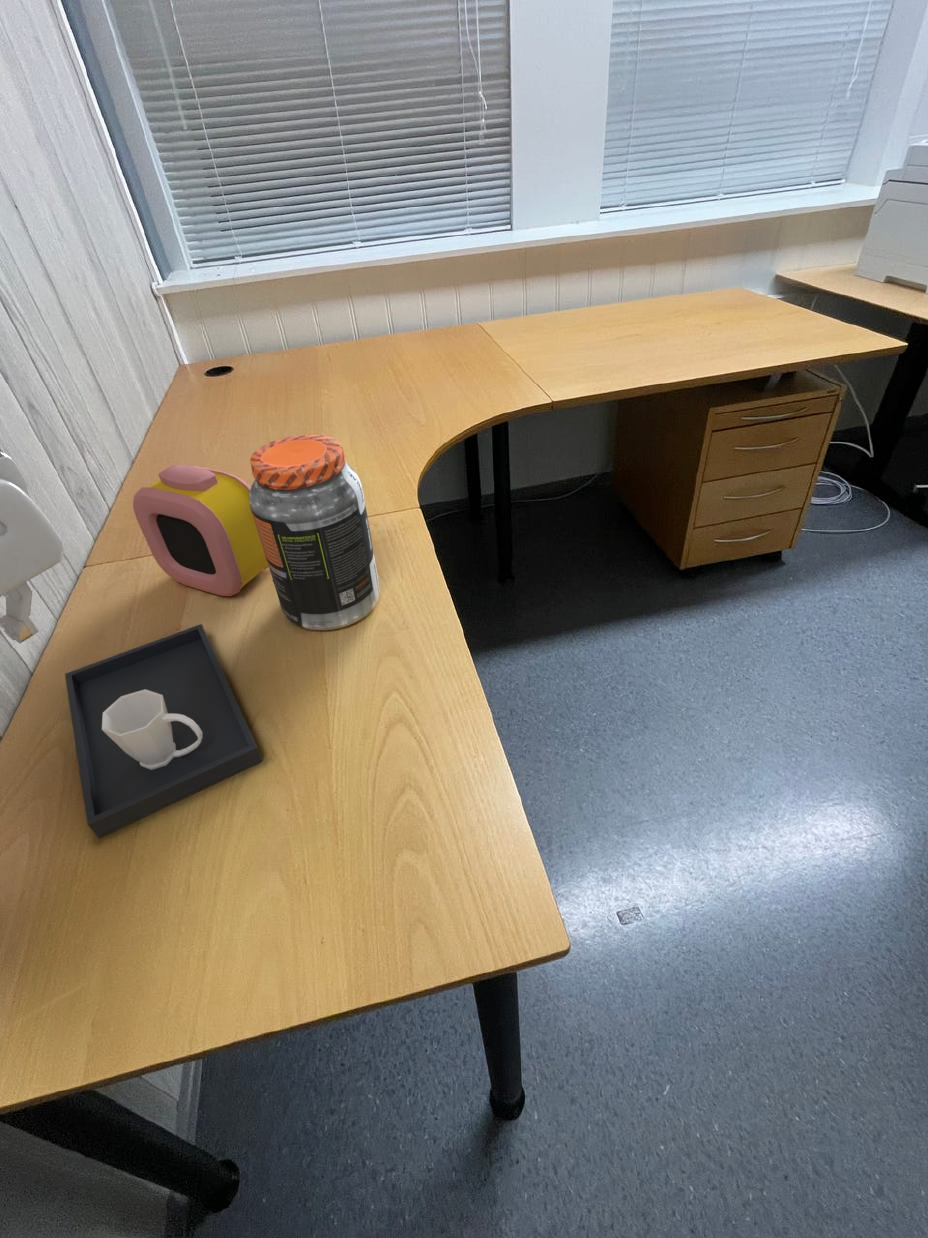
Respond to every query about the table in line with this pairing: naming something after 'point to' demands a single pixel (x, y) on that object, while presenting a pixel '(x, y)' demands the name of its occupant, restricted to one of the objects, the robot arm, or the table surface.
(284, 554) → the supplement tub
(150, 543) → the alarm clock
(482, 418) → the table surface
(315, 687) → the table surface
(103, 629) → the table surface
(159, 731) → the cup
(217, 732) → the tray
